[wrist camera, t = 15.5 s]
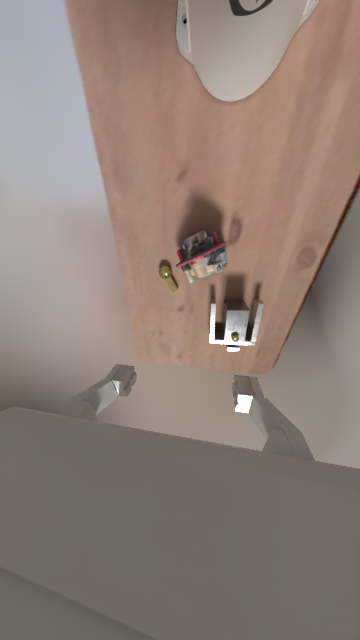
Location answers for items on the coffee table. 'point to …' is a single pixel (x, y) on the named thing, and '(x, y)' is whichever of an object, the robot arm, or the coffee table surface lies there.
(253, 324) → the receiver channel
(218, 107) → the coffee table surface
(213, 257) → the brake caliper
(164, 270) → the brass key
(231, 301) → the block
